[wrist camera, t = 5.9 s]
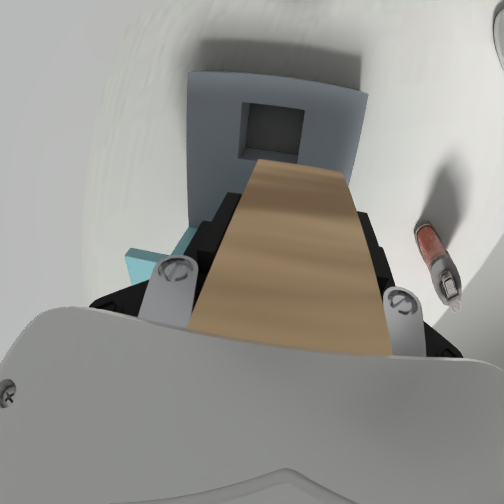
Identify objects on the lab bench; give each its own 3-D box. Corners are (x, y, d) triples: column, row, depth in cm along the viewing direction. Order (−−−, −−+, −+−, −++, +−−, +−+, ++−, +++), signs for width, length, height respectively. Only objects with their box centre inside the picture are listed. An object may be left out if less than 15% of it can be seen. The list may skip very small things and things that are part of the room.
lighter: (447, 259, 32) (471, 313, 25) (427, 270, 34) (447, 325, 26) (430, 215, 29) (461, 268, 22) (408, 228, 31) (433, 283, 23)
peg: (258, 159, 13) (183, 335, 5) (342, 171, 13) (394, 363, 5) (252, 230, 15) (200, 412, 7) (326, 241, 15) (332, 429, 7)
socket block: (198, 71, 25) (101, 87, 12) (364, 91, 23) (425, 121, 11) (196, 216, 36) (139, 309, 23) (330, 238, 34) (335, 348, 22)
